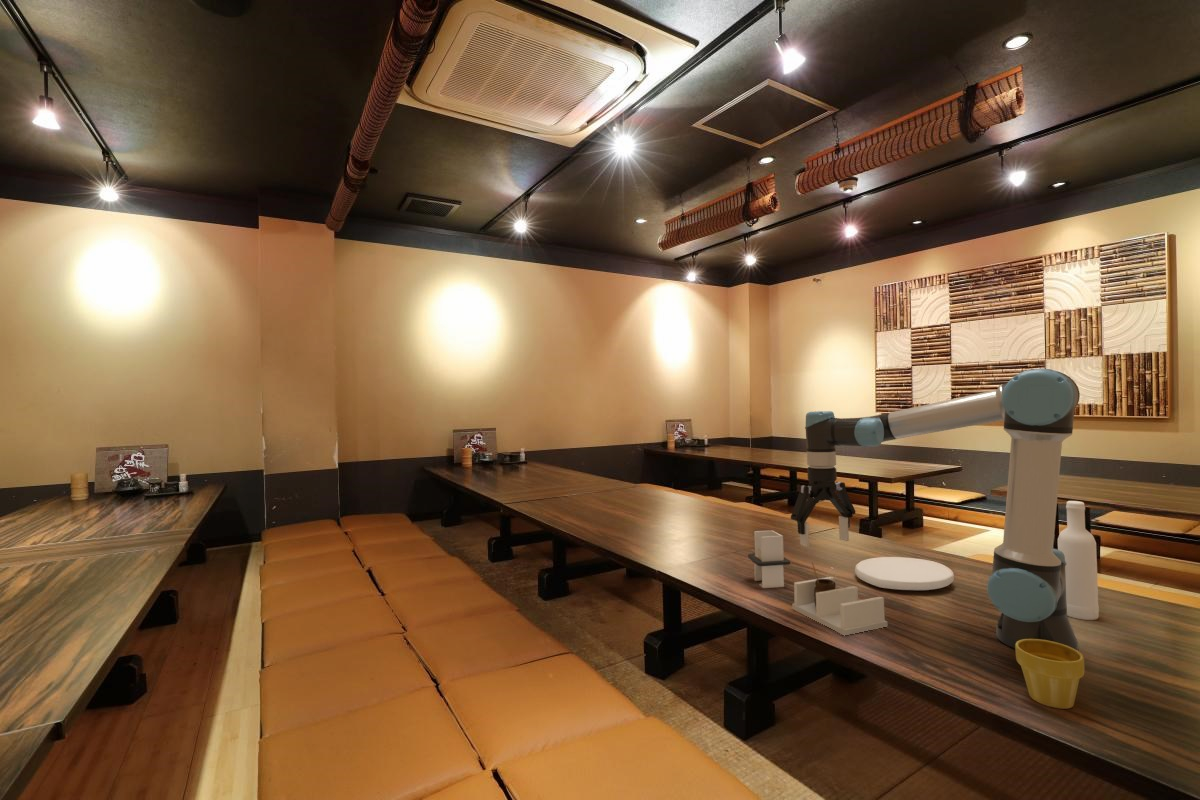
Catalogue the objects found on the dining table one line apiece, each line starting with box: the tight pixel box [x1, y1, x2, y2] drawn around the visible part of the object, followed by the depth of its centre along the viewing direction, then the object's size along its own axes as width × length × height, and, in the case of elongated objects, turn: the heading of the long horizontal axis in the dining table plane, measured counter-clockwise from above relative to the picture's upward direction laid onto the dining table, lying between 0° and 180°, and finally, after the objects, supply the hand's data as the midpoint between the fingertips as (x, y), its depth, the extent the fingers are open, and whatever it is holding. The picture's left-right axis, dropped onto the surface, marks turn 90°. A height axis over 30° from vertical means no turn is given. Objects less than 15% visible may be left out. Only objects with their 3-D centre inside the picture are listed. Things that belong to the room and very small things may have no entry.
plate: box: [854, 556, 955, 591], centre depth 175 cm, size 28×6×27 cm
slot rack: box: [791, 576, 889, 637], centre depth 147 cm, size 20×14×8 cm
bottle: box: [1057, 500, 1100, 621], centre depth 145 cm, size 8×8×30 cm
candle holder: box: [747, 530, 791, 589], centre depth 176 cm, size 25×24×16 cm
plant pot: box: [1014, 639, 1085, 710], centre depth 106 cm, size 10×10×10 cm
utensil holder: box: [811, 561, 838, 606], centre depth 151 cm, size 6×6×12 cm
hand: (824, 543), depth 151 cm, fingers open, 13 cm apart
